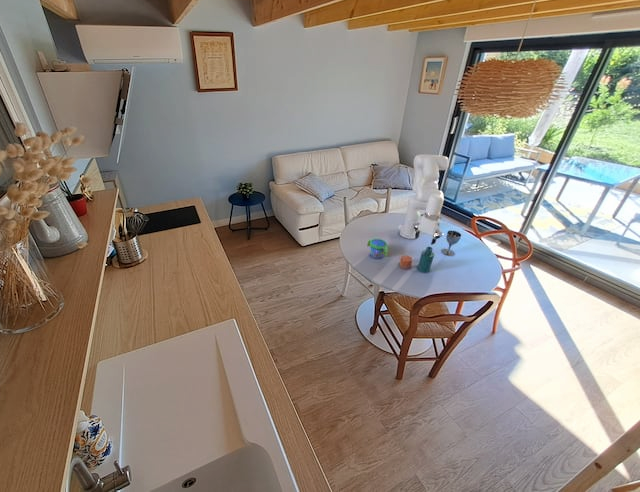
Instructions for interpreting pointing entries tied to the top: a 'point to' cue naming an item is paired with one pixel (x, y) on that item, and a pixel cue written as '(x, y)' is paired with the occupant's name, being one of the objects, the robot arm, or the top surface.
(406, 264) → the cup
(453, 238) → the wine glass
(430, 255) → the bottle
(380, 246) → the snack cup
